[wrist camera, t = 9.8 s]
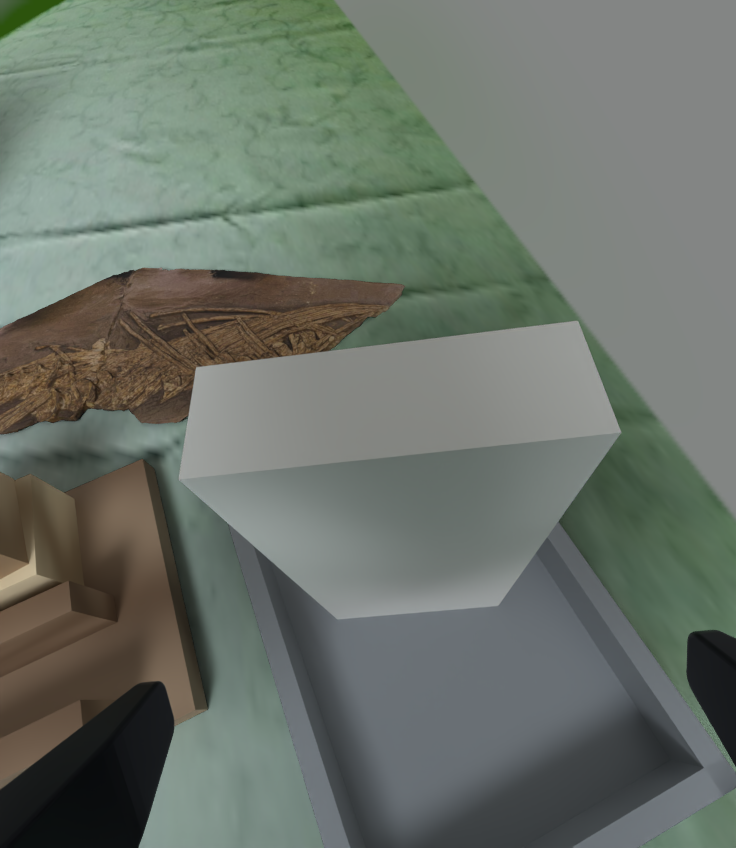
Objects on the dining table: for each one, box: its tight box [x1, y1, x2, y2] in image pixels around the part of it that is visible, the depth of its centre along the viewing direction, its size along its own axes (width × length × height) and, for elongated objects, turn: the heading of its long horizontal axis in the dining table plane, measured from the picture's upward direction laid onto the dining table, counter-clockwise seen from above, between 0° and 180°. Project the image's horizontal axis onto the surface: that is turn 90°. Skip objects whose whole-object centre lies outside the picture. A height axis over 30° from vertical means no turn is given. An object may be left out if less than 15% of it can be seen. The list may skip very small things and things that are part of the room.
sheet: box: [178, 321, 621, 619], centre depth 11 cm, size 2×6×12 cm, turn 94°
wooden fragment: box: [0, 268, 405, 434], centre depth 25 cm, size 26×11×1 cm, turn 94°
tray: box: [228, 522, 736, 848], centre depth 16 cm, size 16×10×2 cm, turn 24°
